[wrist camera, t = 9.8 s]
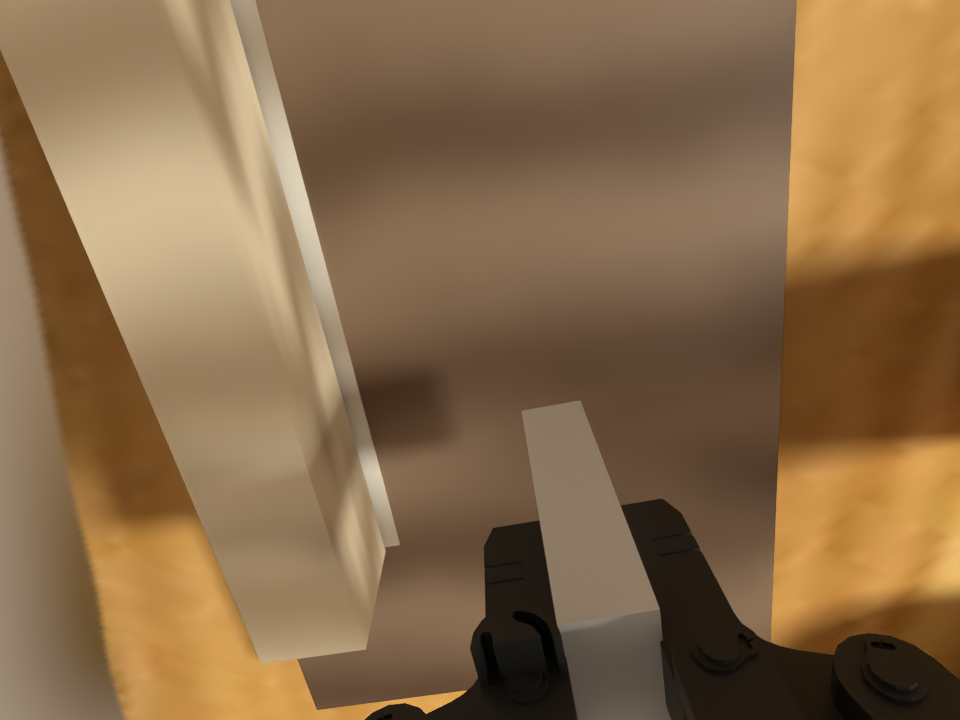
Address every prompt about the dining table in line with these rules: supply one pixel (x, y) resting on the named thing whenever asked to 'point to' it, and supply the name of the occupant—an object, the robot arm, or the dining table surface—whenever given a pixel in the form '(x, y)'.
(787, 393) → the dining table surface
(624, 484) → the stool seat
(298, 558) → the folding leg
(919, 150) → the dining table surface
